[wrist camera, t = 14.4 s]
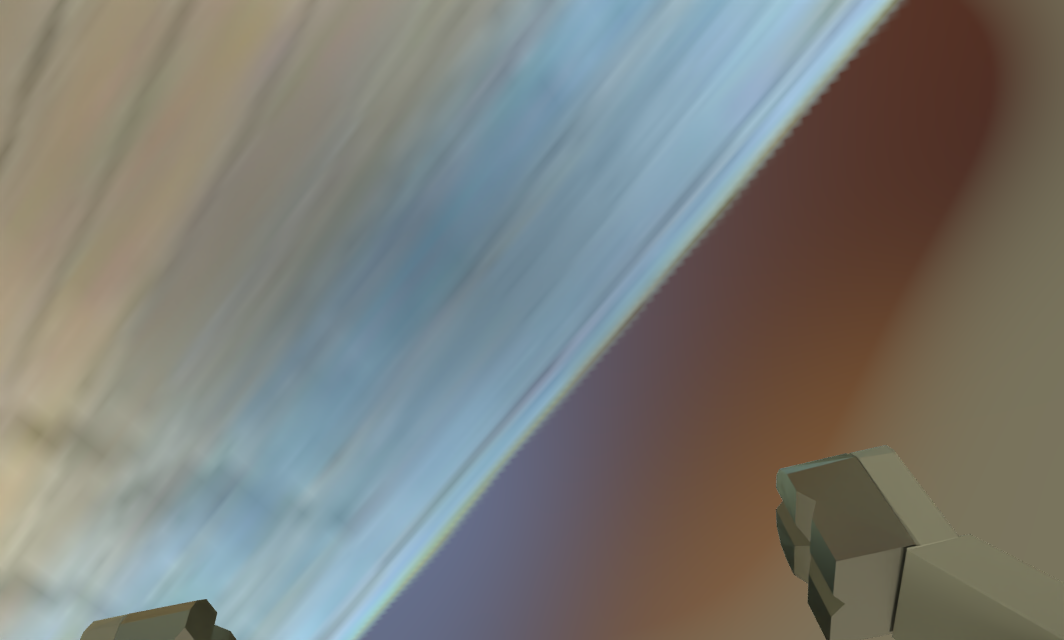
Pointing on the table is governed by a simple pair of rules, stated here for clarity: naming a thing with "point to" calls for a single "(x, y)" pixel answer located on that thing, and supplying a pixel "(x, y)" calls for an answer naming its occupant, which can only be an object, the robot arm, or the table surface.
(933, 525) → the robot arm
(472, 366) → the table surface
